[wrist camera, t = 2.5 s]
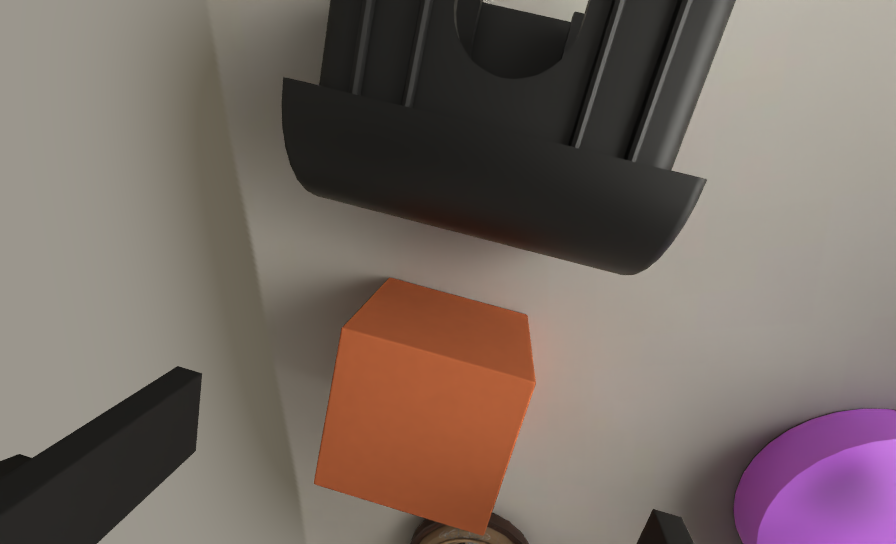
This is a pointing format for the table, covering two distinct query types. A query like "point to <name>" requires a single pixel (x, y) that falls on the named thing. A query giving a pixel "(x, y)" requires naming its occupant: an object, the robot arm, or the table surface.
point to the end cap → (511, 120)
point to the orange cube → (427, 404)
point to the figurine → (823, 483)
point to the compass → (468, 533)
